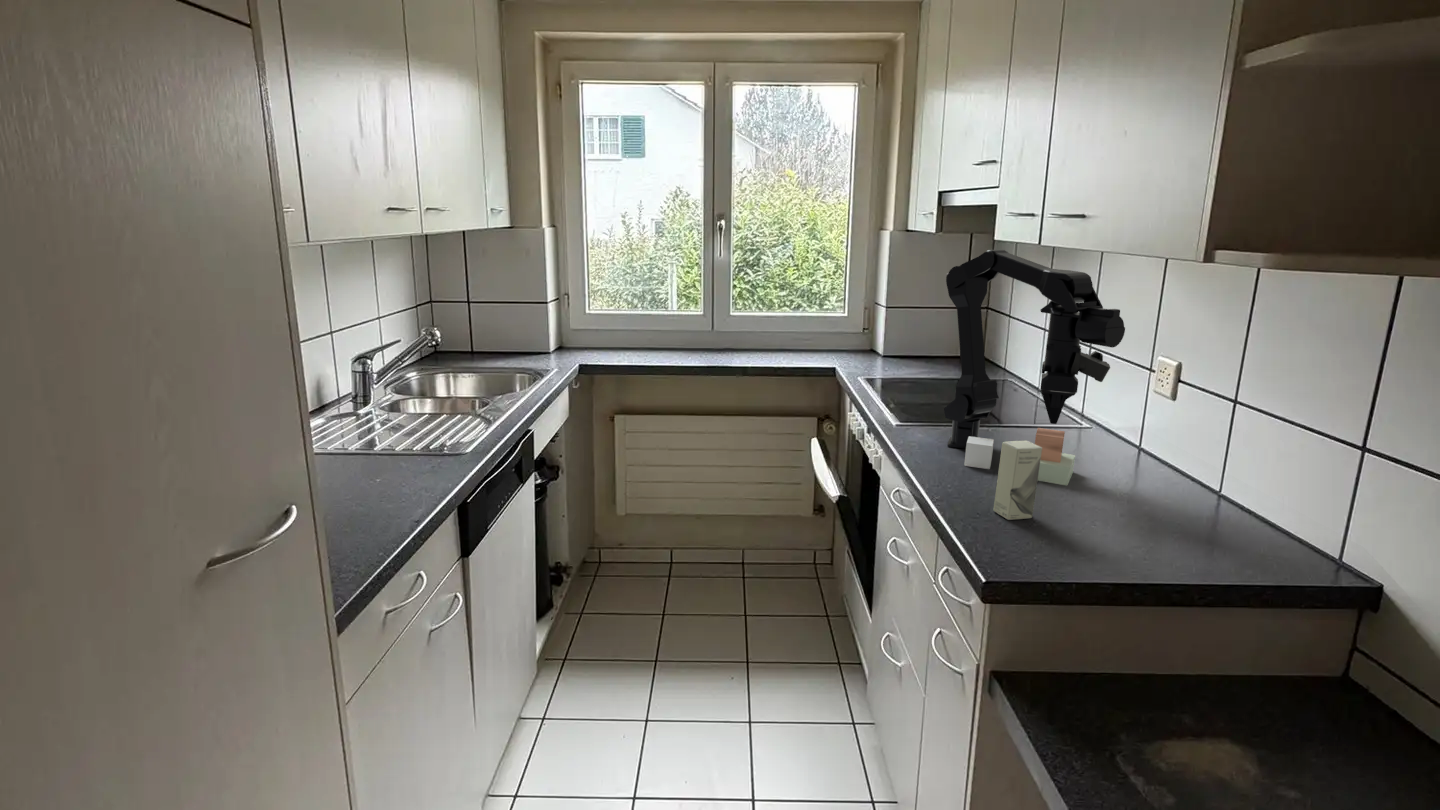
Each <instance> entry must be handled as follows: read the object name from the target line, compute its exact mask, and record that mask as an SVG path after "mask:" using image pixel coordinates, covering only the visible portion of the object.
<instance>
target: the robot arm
mask: <svg viewBox="0 0 1440 810" xmlns="http://www.w3.org/2000/svg"><path fill="white" fill-rule="evenodd" d="M999 274H1001V275H1003V276H1007V277H1008V278H1011V279H1014V280H1016V281H1019V282H1021V283H1023V284H1026V285H1028V286H1032V287H1034V288H1035V289H1037V290H1038V291H1039V292H1040V293H1041V295H1042V296H1043V297H1045V298H1046V299H1048V300H1050V301H1049V302H1048V304H1046V305H1045V306H1043V307H1042V308H1040V312H1041V314H1043V313H1044V314H1050V315H1049V324H1048V332H1047V339H1046V345H1045V346H1046V347H1045V357H1044V361H1042V365H1041V378H1040V379H1041V380H1040V392H1041V396H1042V399H1043V403H1044V406H1045V409H1046V412H1047V415H1048V420H1049V423H1050V424H1051V425H1052V424H1053V425H1057V424H1058V422H1059V418H1060V416H1061V415H1062V414H1061V413H1062V410H1063V408H1064V405H1065V403H1066V401H1067V400H1068V399H1070V398H1071V397H1073V396H1075V395H1076V394H1077V393H1078V388H1079V379H1078V378H1077V376H1078V375H1079V373H1081V374H1083V375H1085V376H1088V377H1091V378H1092V379H1094V380H1095V381H1097V382H1100V383H1102V382H1103V381H1104V379H1105V378H1106V376H1107V374H1108V372H1109V370H1110V369H1111V365H1110V363H1108V362H1107V361H1105V360H1104V355H1103V353H1101V352H1099V351H1097V350H1094V351H1093V352H1091V353H1089V354H1088V353H1084V352H1082V348H1081V347H1082V346H1081V345H1080V344H1081V343H1080V342H1082V343H1083V344H1084V343H1085V344H1089V345H1095V346H1101V347H1105V348H1106V347H1107V348H1116V347H1117V346H1119V345H1120V344H1121V342H1122V341H1123V338H1124V336H1125V333H1126V327H1125V323H1124V320H1123V318H1122V317H1121V316H1120V315H1121V309H1118V308H1104V306H1103V304H1102V302H1101V300H1100V298H1099V296H1098V295H1097V292H1096V290H1095V288H1094V286H1093V281H1092V277H1091V276H1090V275H1089V274H1088V273H1087V272H1084V271H1083V272H1082V271H1079V270H1078V271H1076V270H1069V269H1059V268H1051V267H1048V266H1045V265H1043V264H1039V263H1037V262H1035V261H1031V260H1030V259H1026V258H1023V257H1021V256H1018V255H1015V254H1012V253H1009V252H1008V251H1006V250H1005V249H988V250H986V251H984V252H983V253H982V254H980V255H979V256H977V257H974V258H972V259H970V260H968V261H965V262H963V263H962V264H960V265H955V266H953V267H952V268H951V269H949V271H948V273H946V277H945V282H946V287H947V292H948V293H947V294H948V297H949V299H950V301H952V303H953V304H954V306H955V308H956V311H957V312H956V314H957V326H958V330H957V331H958V342H959V355H960V356H959V357H960V368H961V370H960V371H961V375H960V378H959V380H958V382H957V385H956V386H955V395H954V399H953V400H952V401H951V402H950V403H948V404H947V405H946V406H945V407H944V408H943V412H944V417H945V419H947V420H951V421H952V424H951V425H952V426H951V435H950V436H949V437H950V438H949V440H948V442H947V447H951V448H958V449H965V450H966V444H967V440H968V437H969V436H971V437H979V433H980V423H981V419H982V420H983V419H988V418H989V416H990V415H991V413H992V410H994V409H995V407H997V399H999V395H998V382H997V380H996V379H990V377H989V375H988V373H987V372H986V360H985V359H986V358H985V347H984V344H985V343H984V331H983V330H984V329H983V318H982V316H983V315H982V305H983V302H984V299H985V297H986V296H987V294H988V283H990V282H991V281H993V280H994V279H996V278H997V277H998V276H999ZM1076 375H1077V376H1076Z"/></svg>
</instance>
